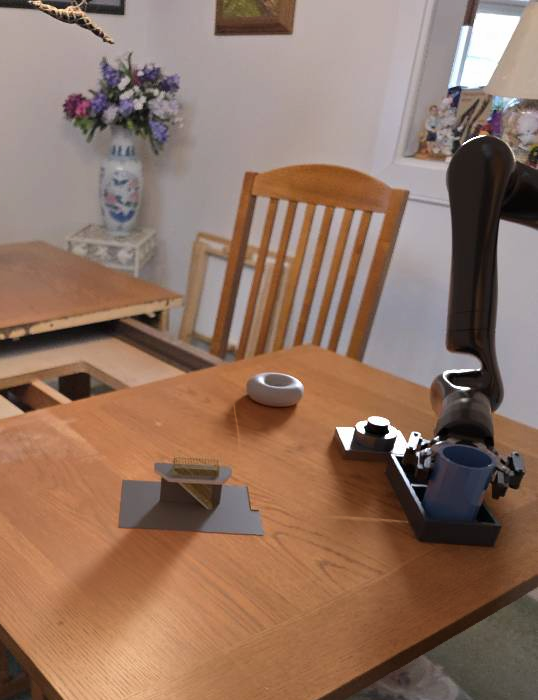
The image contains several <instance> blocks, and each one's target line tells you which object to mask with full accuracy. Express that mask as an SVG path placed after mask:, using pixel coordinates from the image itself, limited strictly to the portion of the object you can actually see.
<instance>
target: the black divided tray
mask: <svg viewBox="0 0 538 700" xmlns="http://www.w3.org/2000/svg"><path fill="white" fill-rule="evenodd" d="M403 456H404V455H399V454H390V456H389V460H388V463H386V467H385V470H384V474H385V476H386V478H387V480H388V482H389V484H390V486H391V488H392V490H393V492H394V494H395V496H396V498H397V500H398V502H399V504H400V506H401V508H402V510H403V512H404V514H405V516H406V518H407V520H408V522H409V525H410V526H411V528H412V530H413V533H414V535H415V536H416V538H417V541H418V543H430V544H444V545H445V544H447V545H458V546H459V545H460V546H461V545H462V546H475V547H489V548H494V547H495V545H496V542H497V539H498V537H499V534H500V532H501V529H502V527H503V525H502V524H501V522H500V521H499V520H498V518H497V517H496V515H495V514H494V513H493V511H492V509H491V508H490V507H489V505H488V504H487V503H486V501H485V499H483V501H482V503H481V506H480V509H479V511H478V514H477V517H476V519H475V522H468V521H453V520H438V519H429V517H428V516H427V514H426V512H425V510H424V508H423V506H422V505H421V503H422V500H423V497H424V494H425V491H426V488H427V485H428V482H429V479H430V475H431V472H432V470H429V472H428V475H427V479H426V482H425V484H424V483H419V479H418V478H415V476H414V475H415V470H416V469H415V468H416V467H415V466H414V465H412V464H411V466H404V465H402V460H403Z"/></svg>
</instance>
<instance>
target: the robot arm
mask: <svg viewBox="0 0 538 700" xmlns="http://www.w3.org/2000/svg"><path fill="white" fill-rule="evenodd" d="M445 187H446V191H447V193H448V202H449V211H450V213H449V214H450V223H451V224H450V225H451V259H450V271H449V272H450V274H449V284H448V295H447V305H446V306H447V308H446V309H447V310H446V322H445V323H446V324H445V340H444V343H445V344H444V346H445V349H446V351H447V352H449V353H450V354H455V355H461V356H466V357H467V356H468V357H472V358H474V359H475V360H477V362H478V363H479V366H480V368H478V369H476V368H475V369H459V370H458V369H451V370H449V369H448V370H445V371H441V372H439V373H438V374H437V375H436V376H435V377H434V378H433V380H432V382H431V384H430V386H429V401H430V405H431V408H432V410H433V412H434V414H435V415H436V417H437V419H436V422H435V427H434V429H433V438H432V439H430V440H429V439H424V438H423V437H421V435H422V433H420V432H418V431H411V433H410V435H409V438H408V441H407V446H406V450H405V453H404V456H403V460H402V465H404V466H411V464H412V465H414V466H415V467H416V468H415V469H416V470H415V475H414V476H415V478H418V479H419V483H424V484H425V482H426V479H427V475H428V472H429V470H432V469H433V466H434V463H435V460H436V457H437V454H438V451H439V448H440V447H442V446H444V445H450V444H461V445H467V446H472V447H476V448H478V449H481V450H484V451H486V452H487V453H489V454H490V455H492V456H493V457H494V458H495V460H496V466H495V469H494V472H493V474H492V477H491V480H490V482H489V484H490V485H491V500H496V501H499V500H500V497H501V498H504V497H505V496H506V495H507V492H508V490H509V489H512V490H519V489H520V487H521V483H522V480H523V478H524V476H525V474H526V472H527V471H526V466H525V463H524V458H523V455H522V453H520V452H519V451H512V452H511V453H510V454H508V455H503V454H499V452H498V451H497V450H496V449H495V425H494V418H493V416H492V414H494V413H495V412H497V410H499V409H500V407H501V406H502V404H503V402H504V398H505V387H504V382H503V378H502V374H501V371H500V366H499V361H498V356H497V349H496V347H497V346H496V334H497V331H496V329H497V319H498V318H497V317H498V306H499V305H498V302H499V273H498V271H499V270H498V244H499V232H500V231H499V230H500V221H504V222H508V223H512V224H516V225H518V226H519V225H520V226H523V227H526V228H529V229H532V230H534V231H536V232H538V168H536V167H534V166H531V165H529V164H527V163H525V162H523V161H520V160H518V159H517V158H515V154H514V151H513V150H512V148H511V147H510V146H509V144H508V143H507V142H506V141H504V140H503V139H501V138H500V137H498V136H495V135H488V134H486V135H485V134H484V135H479V136H476V137H473V138H471V139H468V140H467V141H466V142H464V143H463V144H461V146H460V147H458V148H457V150H455V153H454V154H453V155H452V157H451V159H450V160H449V163H448V165H447V168H446V172H445Z"/></svg>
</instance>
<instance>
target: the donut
mask: <svg viewBox="0 0 538 700" xmlns="http://www.w3.org/2000/svg"><path fill="white" fill-rule="evenodd" d="M245 387H246V388H245V390H246V394H247V396H248V397H249V398H250V399H251V400H253V401H254V402H255V403H258V404H260V405H264V406H268V407H274V408H275V407H276V408H283V407H284V408H285V407H286V408H287V407H292V406H294V405H296V404H298V403H300V401H301V400H302V399H303V398H304V395H305V389H304V384H302V382H301V381H299V379H297V378H295V377H294V376H291V375H289V374H285V373H281V372H262V373H261V372H260V373H257V374H255V375H252V376H251V377H250V378H249V379H248V381H246V386H245Z"/></svg>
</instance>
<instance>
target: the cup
mask: <svg viewBox="0 0 538 700" xmlns="http://www.w3.org/2000/svg"><path fill="white" fill-rule="evenodd" d="M495 466H496V460H495V458H494V457H493V456H492V455H490V454H489V453H487V452H486V451H484V450H481V449H478V448H476V447H472V446H467V445H461V444H450V445H444V446H442V447H440V448H439V451H438V454H437V457H436V460H435V463H434V466H433V469H432V472H431V475H430V479H429V482H428V485H427V488H426V491H425V494H424V497H423V500H422V503H421V505H422V506H423V508H424V510H425V512H426V514H427V516H428V517H429V519H438V520H453V521H468V522H475V519H476V517H477V514H478V511H479V509H480V506H481V503H482V501H483V500H484V498H485V496H486V492H487V490H488V487H489V485H490V483H489V482H490V480H491V477H492V474H493V472H494V469H495Z"/></svg>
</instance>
